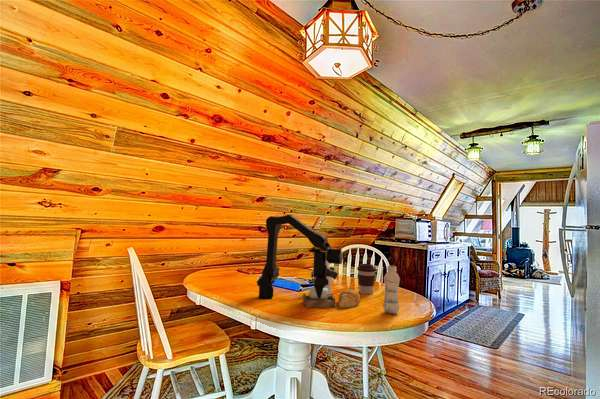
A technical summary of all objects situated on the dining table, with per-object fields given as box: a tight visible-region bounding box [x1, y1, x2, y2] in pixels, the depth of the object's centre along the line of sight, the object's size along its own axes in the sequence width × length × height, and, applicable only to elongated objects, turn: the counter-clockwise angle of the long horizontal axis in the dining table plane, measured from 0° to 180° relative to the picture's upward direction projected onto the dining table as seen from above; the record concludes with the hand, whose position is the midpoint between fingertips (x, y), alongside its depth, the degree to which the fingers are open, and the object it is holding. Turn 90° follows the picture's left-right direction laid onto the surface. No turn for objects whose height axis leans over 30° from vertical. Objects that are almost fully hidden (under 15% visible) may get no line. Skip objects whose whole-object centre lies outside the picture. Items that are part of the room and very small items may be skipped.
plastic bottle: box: [382, 265, 401, 315], centre depth 138 cm, size 6×7×20 cm
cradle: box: [302, 292, 336, 308], centre depth 148 cm, size 14×8×4 cm, turn 93°
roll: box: [308, 287, 329, 300], centre depth 148 cm, size 8×5×5 cm, turn 93°
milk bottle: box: [323, 260, 333, 296], centre depth 169 cm, size 8×8×20 cm
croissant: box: [338, 288, 361, 309], centre depth 151 cm, size 21×10×8 cm, turn 151°
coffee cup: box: [356, 263, 377, 295], centre depth 173 cm, size 10×10×15 cm
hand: (318, 296), depth 148 cm, fingers closed on roll, 5 cm apart
